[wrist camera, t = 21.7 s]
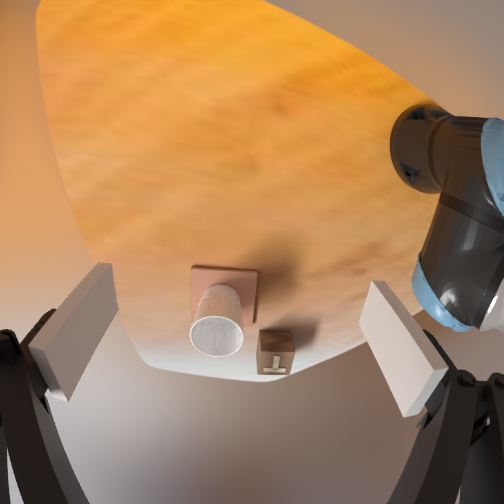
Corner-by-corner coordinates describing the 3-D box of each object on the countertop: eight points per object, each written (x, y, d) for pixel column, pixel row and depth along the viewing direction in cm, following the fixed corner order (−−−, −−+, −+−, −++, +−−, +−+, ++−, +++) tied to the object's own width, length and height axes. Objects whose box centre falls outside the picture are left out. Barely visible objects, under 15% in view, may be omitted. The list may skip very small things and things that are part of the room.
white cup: (221, 326, 53) (217, 364, 43) (189, 299, 50) (178, 335, 41) (253, 301, 51) (255, 338, 41) (220, 272, 48) (215, 306, 39)
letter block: (291, 331, 55) (296, 353, 49) (286, 353, 57) (290, 375, 51) (259, 330, 54) (261, 352, 49) (256, 352, 57) (257, 375, 51)
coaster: (257, 271, 49) (257, 273, 48) (252, 323, 53) (252, 326, 53) (191, 266, 48) (190, 268, 48) (192, 319, 53) (191, 322, 52)
